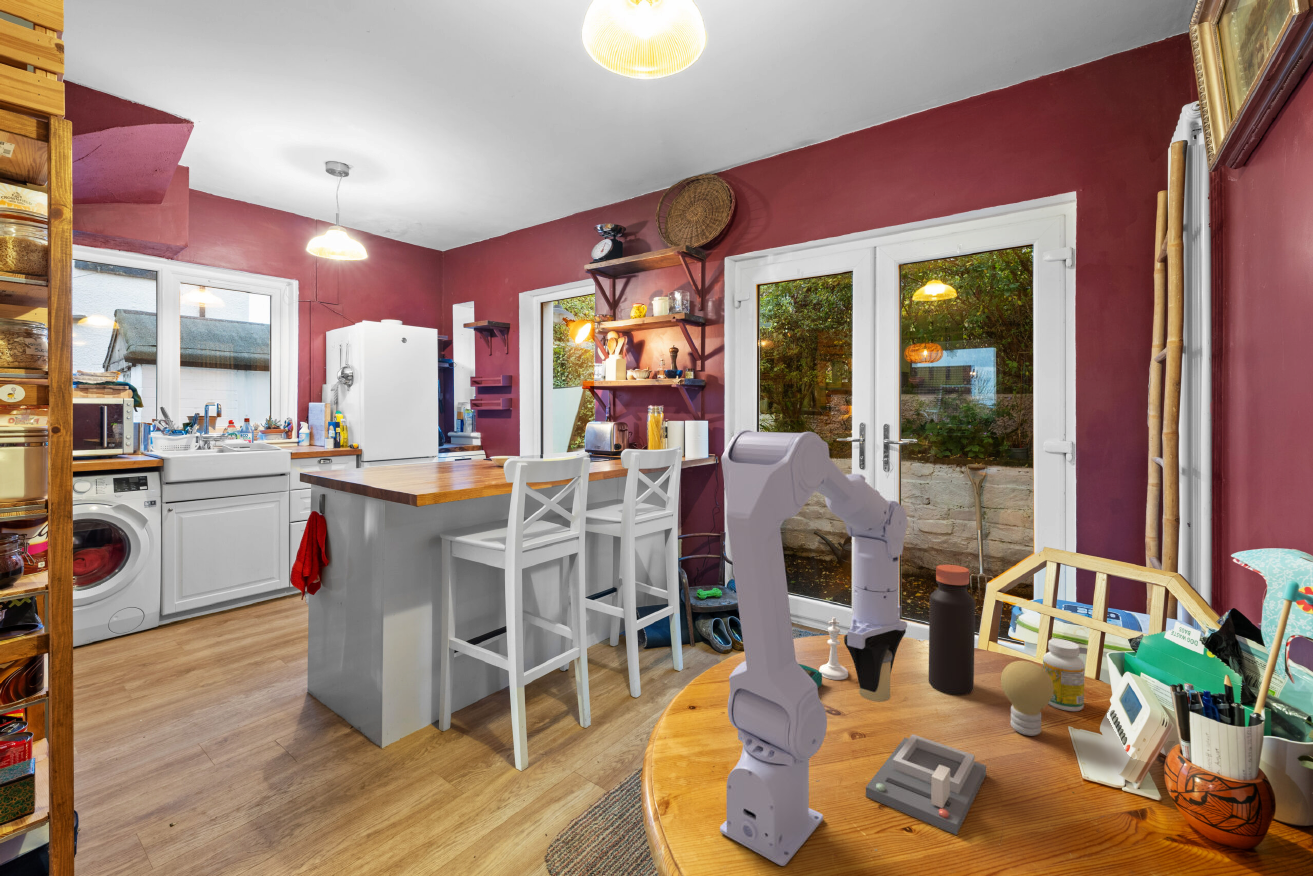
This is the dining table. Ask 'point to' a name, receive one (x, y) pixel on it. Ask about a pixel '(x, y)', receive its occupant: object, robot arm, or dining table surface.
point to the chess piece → (833, 656)
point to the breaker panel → (927, 782)
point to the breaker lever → (940, 786)
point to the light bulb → (1026, 694)
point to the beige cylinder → (881, 682)
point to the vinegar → (952, 632)
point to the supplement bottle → (1065, 674)
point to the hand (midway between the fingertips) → (874, 683)
